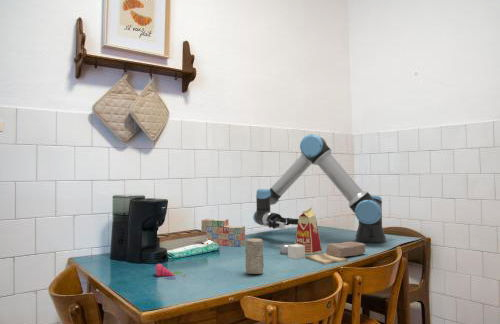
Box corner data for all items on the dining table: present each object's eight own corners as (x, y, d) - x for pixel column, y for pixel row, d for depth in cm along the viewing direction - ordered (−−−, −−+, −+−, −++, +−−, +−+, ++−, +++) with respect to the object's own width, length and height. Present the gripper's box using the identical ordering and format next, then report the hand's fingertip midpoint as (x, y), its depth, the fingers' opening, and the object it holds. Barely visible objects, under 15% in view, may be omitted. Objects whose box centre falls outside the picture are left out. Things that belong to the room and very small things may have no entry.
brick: (340, 257, 153) (340, 245, 153) (324, 253, 159) (325, 242, 160) (365, 254, 162) (366, 243, 162) (350, 251, 169) (350, 240, 169)
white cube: (296, 255, 161) (296, 244, 161) (304, 257, 157) (304, 245, 157) (287, 257, 158) (287, 245, 158) (296, 259, 154) (296, 247, 154)
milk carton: (305, 249, 174) (305, 206, 175) (322, 252, 168) (322, 207, 168) (293, 252, 168) (293, 207, 168) (310, 255, 161) (309, 208, 162)
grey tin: (287, 252, 168) (287, 243, 168) (293, 254, 163) (293, 245, 164) (277, 253, 166) (277, 244, 166) (284, 255, 161) (284, 246, 161)
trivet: (328, 255, 162) (328, 253, 162) (347, 260, 151) (347, 258, 151) (305, 258, 156) (305, 256, 156) (324, 264, 145) (323, 262, 145)
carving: (265, 271, 135) (265, 237, 136) (261, 277, 128) (261, 241, 128) (248, 270, 137) (248, 237, 137) (243, 275, 129) (243, 240, 130)
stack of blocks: (245, 244, 186) (245, 219, 186) (240, 247, 180) (240, 221, 181) (207, 242, 194) (207, 218, 194) (201, 244, 188) (201, 219, 189)
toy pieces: (156, 282, 123) (156, 269, 123) (154, 274, 133) (154, 261, 133) (193, 279, 126) (193, 266, 126) (188, 271, 137) (188, 259, 137)
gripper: (292, 225, 200) (317, 231, 181) (251, 229, 189) (273, 235, 170) (292, 211, 200) (317, 215, 182) (251, 214, 189) (273, 218, 170)
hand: (296, 225), depth 176 cm, fingers open, 13 cm apart
